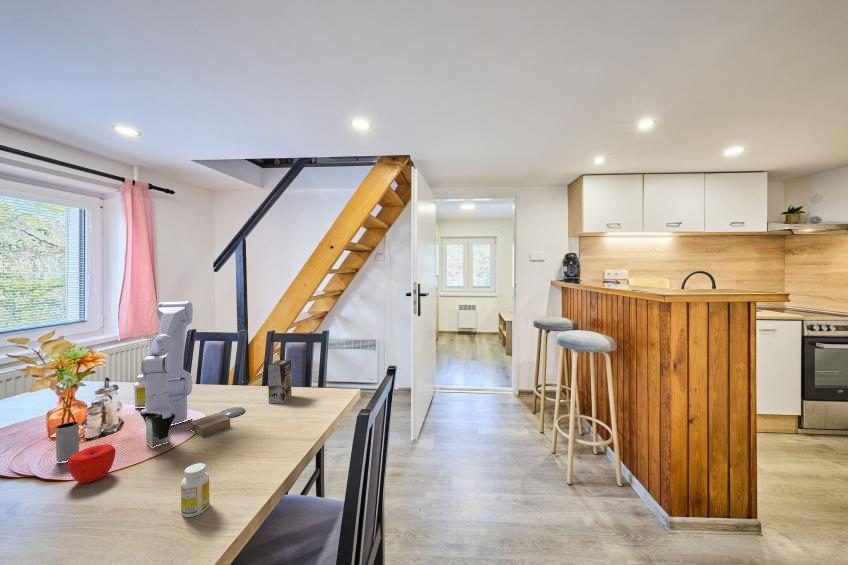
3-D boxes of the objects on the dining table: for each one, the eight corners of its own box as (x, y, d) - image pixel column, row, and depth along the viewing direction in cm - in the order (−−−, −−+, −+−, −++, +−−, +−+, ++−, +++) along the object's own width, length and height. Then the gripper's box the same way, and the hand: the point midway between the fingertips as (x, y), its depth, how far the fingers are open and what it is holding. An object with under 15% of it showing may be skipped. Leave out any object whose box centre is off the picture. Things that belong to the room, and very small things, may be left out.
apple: (73, 494, 82) (72, 462, 82) (63, 482, 87) (62, 452, 86) (121, 475, 89) (120, 446, 89) (109, 465, 94) (109, 438, 94)
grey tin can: (82, 457, 99) (81, 422, 99) (62, 465, 95) (61, 429, 94) (73, 454, 100) (72, 420, 100) (52, 462, 96) (51, 427, 96)
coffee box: (283, 403, 140) (282, 365, 139) (268, 403, 140) (267, 365, 139) (292, 395, 149) (291, 359, 148) (277, 395, 149) (277, 359, 149)
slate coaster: (213, 414, 128) (213, 413, 128) (237, 407, 136) (237, 405, 136) (225, 420, 124) (225, 418, 124) (249, 411, 131) (249, 410, 131)
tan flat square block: (189, 430, 115) (189, 421, 115) (217, 420, 123) (217, 412, 123) (202, 437, 111) (202, 428, 111) (230, 426, 118) (230, 418, 118)
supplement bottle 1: (158, 405, 139) (157, 374, 138) (138, 410, 133) (137, 378, 133) (152, 402, 142) (151, 372, 142) (132, 407, 137) (131, 376, 136)
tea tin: (146, 444, 106) (145, 417, 106) (164, 438, 110) (163, 412, 110) (152, 448, 103) (151, 420, 103) (170, 442, 107) (169, 415, 107)
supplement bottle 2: (185, 521, 72) (184, 477, 72) (178, 510, 76) (177, 468, 76) (213, 508, 77) (212, 466, 76) (205, 498, 80) (204, 458, 80)
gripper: (132, 392, 107) (133, 434, 107) (150, 401, 99) (151, 446, 99) (159, 386, 113) (160, 426, 113) (178, 394, 105) (179, 437, 105)
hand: (158, 435), depth 107 cm, fingers open, 7 cm apart
